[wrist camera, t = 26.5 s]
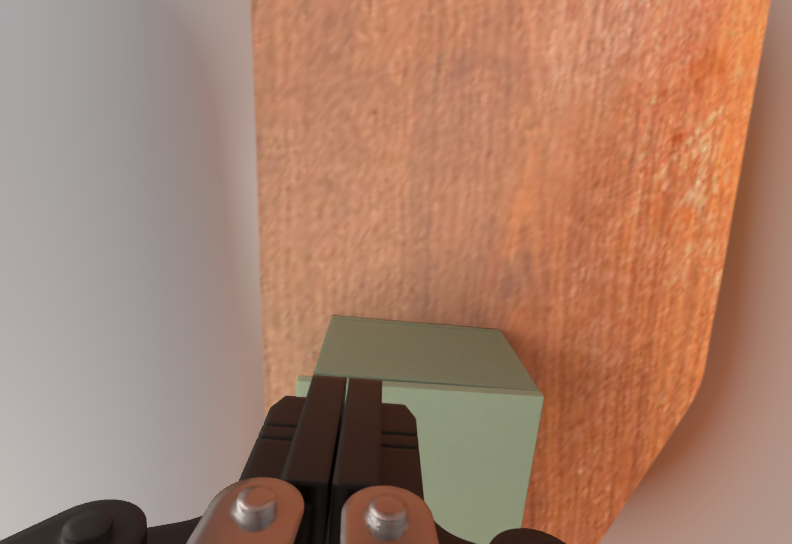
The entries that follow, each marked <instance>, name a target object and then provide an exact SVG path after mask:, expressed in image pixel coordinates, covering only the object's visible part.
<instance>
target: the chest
mask: <svg viewBox="0 0 792 544" xmlns="http://www.w3.org/2000/svg"><path fill="white" fill-rule="evenodd" d="M314 375H322V376H335V377H347V379H349V378H363V379H376V380H382V381H393V382H409V383H424V384H439V385H455V386H470V387H486V388H501V389H516V390H532V391H540V390H539V388H538V387H537V385H536V384H535V382H534V381H533V379H532V378H531V376H530V375H529V373H528V371H527V370H526V368H525V367H524V365H523V364H522V362H521V361H520V359H519V358H518V356H517V355H516V353H515V352H514V350H513V349H512V347H511V345H510V344H509V342H508V341H507V339H506V338H505V336H504V335H503V333H502V332H501V330H498V329H487V328H475V327H463V326H452V325H440V324H428V323H417V322H405V321H393V320H382V319H370V318H358V317H347V316H335V315H332V317H331V320H330V323H329V326H328V329H327V332H326V336H325V339H324V342H323V345H322V348H321V351H320V354H319V357H318V361H317V364H316V367H315V370H314Z"/></svg>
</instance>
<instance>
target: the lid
mask: <svg viewBox="0 0 792 544" xmlns="http://www.w3.org/2000/svg"><path fill="white" fill-rule="evenodd" d="M312 377H313V376H301V375H299V376H298V379H297V385H296V397H306V396H307V393H308V390H309V387H310V383H311V380H312ZM348 383H349V379H347V385H346V396H347V389H348ZM543 401H544V396H543V395H542V393H541V392H540V391H532V390H516V389H501V388H486V387H470V386H455V385H439V384H424V383H409V382H393V381H382V403H391V404H404V405H406V406H407V408H408V409H409V410H410V411H411V413H412V414H413V415H414V416H415V418H416V423H417V433H418V434H417V437H418V443H419V453H420V463H421V473H422V483H423V493H424V501H425V503H426V504H427V505H428V507H429V508H430V510H431V512H432V515H433V519H434V521H435V522H436V523H437V524H438V525H440V526H441V527H442V528H443V529H445V530H446V531H448V532H449V533H451V534H453V535H455V536H457V537H459V538H461V539H464V540H467V541H470V542H473V543H476V544H490V542H491V541H492V539H493V538H494V537H495V536H496V535H498V534H499V533H501V532H503V531H506V530H509V529H515V528H521V524H522V519H523V513H524V507H525V502H526V496H527V491H528V485H529V479H530V474H531V468H532V463H533V457H534V451H535V446H536V440H537V434H538V429H539V423H540V418H541V412H542V406H543ZM345 402H346V400H345Z"/></svg>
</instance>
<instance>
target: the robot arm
mask: <svg viewBox="0 0 792 544" xmlns="http://www.w3.org/2000/svg"><path fill="white" fill-rule="evenodd" d="M346 385H347V377H335V376H322V375H313V377H312V380H311V383H310V387H309V390H308V393H307V396H306V397H296V396H285V397H284V398H282V399H281V400H280V401H279V402H277V403H276V404H275V405H273V406H272V407H271V408H270V410H269V412H268V415H267V417H266V419H265V422H264V426H262V429H261V431H260V433H259V437H258V439H257V440H256V443H255V445H254V447H253V449H252V452H251V454H250V456H249V458H248V461H247V463H246V466H245V468H244V470H243V472H242V475H241V477H240V479H239V482H236V483H234V484H231V485H230V486H228V487H226V488H225V489H223V490H222V491H220V492H219V493H218V494H217V495H216V496H215V497H214V499H213V500H212V501H211V503H210V505H209V506H208V508H207V510H206V511H205V513H204V515H203V516H201V517H198V518H194V519H191V520H187V521H183V522H178V523H172V524H166V525H161V526H155V527H149V528H147V522H146V516H145V514H144V512H143V511H142V510H141V509H140V508H139V507H137V506H136V505H134V504H132V503H130V502H126V501H122V500H98V501H93V502H89V503H84V504H82V505H78V506H75V507H73V508H70V509H68V510H65V511H63V512H61V513H59V514H57V515H55V516H53V517H51V518H48V519H46V520H44V521H42V522H40V523H38V524H35V525H33V526H31V527H29V528H27V529H25V530H22V531H20V532H18V533H16V534H14V535H12V536H10V537H8V538H6V539H3V540H1V541H0V544H476V543H473V542H470V541H467V540H464V539H461V538H459V537H457V536H455V535H453V534H451V533H449V532H448V531H446V530H445V529H443V528H442V527H441V526H440V525H438V524H437V523H436V522H435V521H434V519H433V515H432V512H431V510H430V508H429V507H428V505H427V504H426V503H425V501H424V493H423V483H422V473H421V463H420V453H419V443H418V437H417V434H418V433H417V423H416V418H415V416H414V415H413V414H412V413H411V411H410V410H409V409H408V408H407V406H406V405H404V404H391V403H382V380H376V379H363V378H349V383H348V389H347V396H346ZM345 400H346V402H345ZM490 544H566V543H564V542H562V541H561V540H559V539H558V538H556V537H554V536H552V535H550V534H547V533H545V532H542V531H538V530H534V529H528V528H515V529H509V530H506V531H503V532H501V533H499V534H498V535H496V536H495V537H494V538H493V539H492V541H491V542H490Z"/></svg>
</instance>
